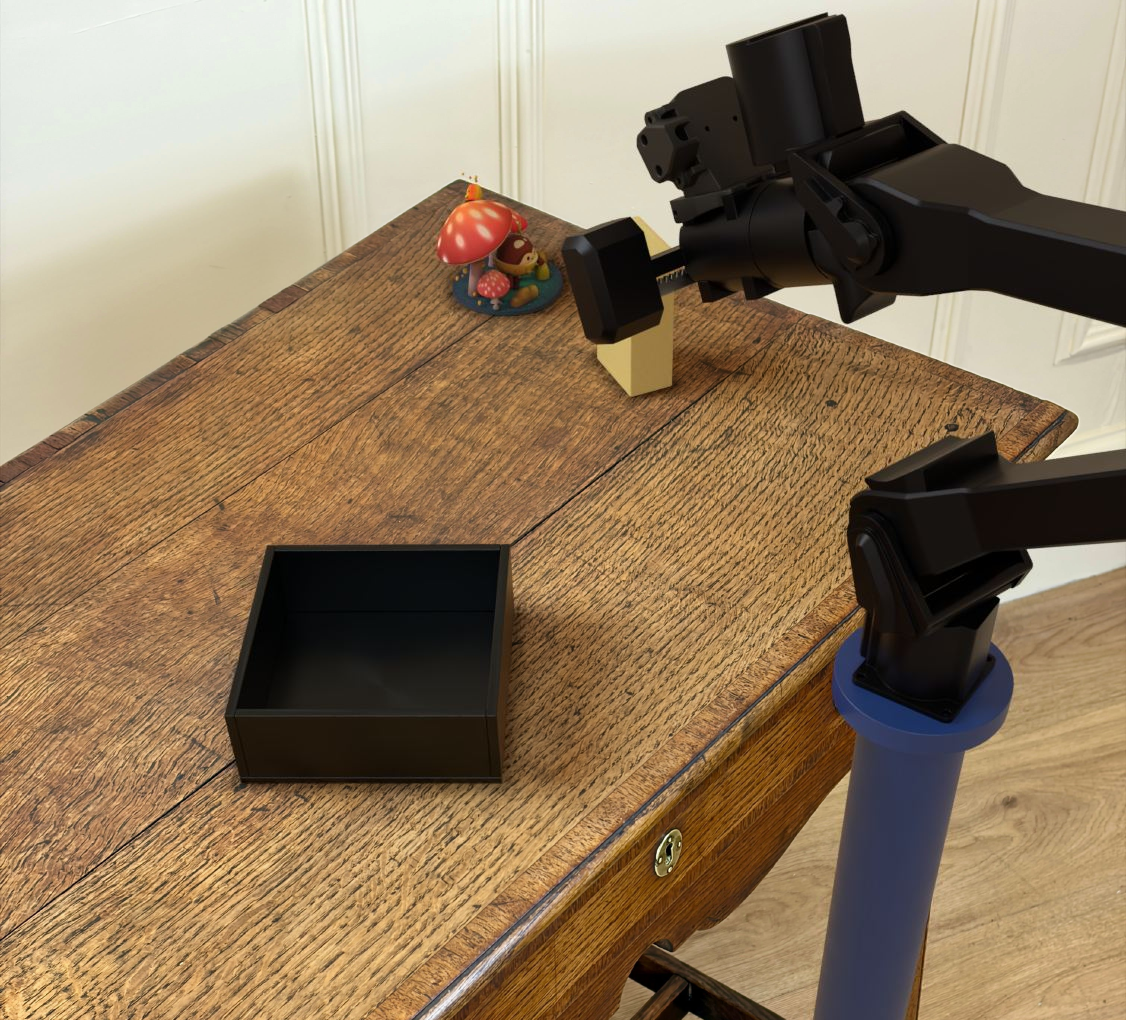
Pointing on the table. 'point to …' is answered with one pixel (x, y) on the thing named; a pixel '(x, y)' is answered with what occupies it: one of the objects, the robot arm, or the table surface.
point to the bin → (375, 665)
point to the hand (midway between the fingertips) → (631, 251)
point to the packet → (644, 342)
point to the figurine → (495, 259)
